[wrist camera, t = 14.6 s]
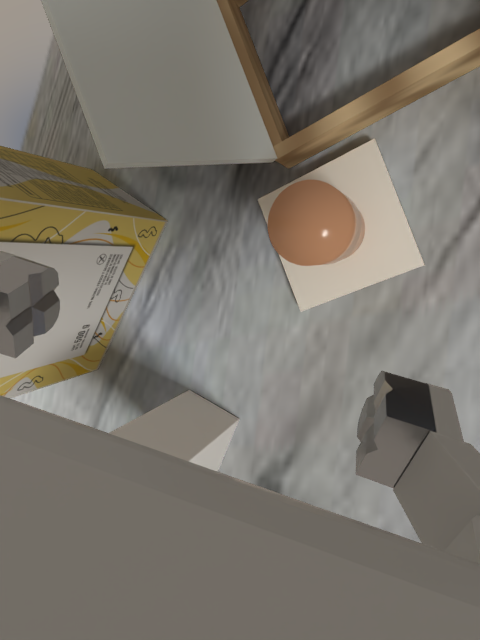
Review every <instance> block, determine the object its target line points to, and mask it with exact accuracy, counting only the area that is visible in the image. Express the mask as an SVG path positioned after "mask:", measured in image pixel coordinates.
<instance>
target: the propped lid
mask: <svg viewBox="0 0 480 640" xmlns="http://www.w3.org/2000/svg"><path fill="white" fill-rule="evenodd" d="M41 2H42V4H43V7H44V9H45V12H46V15H47V17H48V20H49V23H50V25H51V28H52V31H53V34H54V36H55V39H56V42H57V44H58V47H59V50H60V52H61V55H62V58H63V60H64V63H65V66H66V68H67V71H68V73H69V76H70V79H71V81H72V84H73V87H74V89H75V92H76V95H77V97H78V100H79V103H80V105H81V108H82V111H83V113H84V116H85V119H86V121H87V124H88V127H89V129H90V132H91V135H92V137H93V140H94V143H95V145H96V148H97V151H98V153H99V156H100V159H101V161H102V164H103V167H104V169H107V168H134V167H161V166H188V165H215V164H242V163H269V162H273V161H275V160H276V159H277V156H276V153H275V151H274V148H273V145H272V143H271V140H270V138H269V135H268V132H267V130H266V127H265V125H264V122H263V120H262V117H261V114H260V112H259V109H258V107H257V104H256V101H255V99H254V96H253V94H252V91H251V89H250V86H249V83H248V81H247V78H246V76H245V73H244V70H243V68H242V65H241V63H240V60H239V57H238V55H237V52H236V50H235V47H234V45H233V42H232V39H231V37H230V34H229V32H228V29H227V26H226V24H225V21H224V19H223V16H222V14H221V11H220V8H219V6H218V3H217V1H216V0H41Z"/></svg>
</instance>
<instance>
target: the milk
mask: <svg viewBox="0 0 480 640" xmlns="http://www.w3.org/2000/svg"><path fill="white" fill-rule="evenodd" d="M238 422H239V418H237V417H235V416H233V415H232V414H230V413H228V412H227V411H225V410H223V409H221V408H220V407H218V406H216V405H215V404H213V403H211V402H209V401H208V400H206V399H204V398H203V397H201V396H199V395H197V394H196V393H194V392H192V391H190V390H188V391H186V392H184V393H182V394H180V395H179V396H177V397H175V398H173V399H171V400H169V401H168V402H166V403H164V404H162V405H160V406H158V407H156V408H155V409H153V410H151V411H149V412H147V413H145V414H143V415H142V416H140V417H138V418H136V419H134V420H132V421H130V422H129V423H127V424H125V425H123V426H121V427H119V428H117V429H116V430H114V431H112V432H110V433H109V434H112V435H115V436H118V437H120V438H123V439H126V440H129V441H132V442H135V443H138V444H140V445H143V446H146V447H149V448H152V449H155V450H158V451H160V452H163V453H166V454H169V455H172V456H175V457H177V458H180V459H183V460H186V461H189V462H191V463H194V464H197V465H200V466H203V467H206V468H208V469H211V470H214V471H218V470H219V468H220V466H221V463H222V461H223V459H224V456H225V454H226V451H227V449H228V446H229V444H230V442H231V439H232V437H233V434H234V432H235V429H236V427H237V425H238Z"/></svg>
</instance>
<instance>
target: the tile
mask: <svg viewBox="0 0 480 640" xmlns="http://www.w3.org/2000/svg"><path fill="white" fill-rule="evenodd" d="M302 180H320V181H323V182H326V183H328V184H330V185H332V186H333V187H335V188H336V189H337V190H339V191H340V192H342V193H343V194H345V195H346V196H347V197H349V198H350V199H351V200H352V201H353V202H354V204H355V205H356V207H357V208H358V210H359V211H360V213H361V214H362V216H363V219H364V222H365V235H364V239H363V241H362V243H361V245H360V247H359V248H358V249H357V250H356V252H354V253H353V254H352V255H351V256H349V257H347V258H345V259H342V260H340V261H338V262H336V263H333V264H328V265H313V266H301V265H296V264H293V263H291V262H289V261H287V260H285V259H284V258H283V257H282V256H280V255H279V256H280V259H281V262H282V264H283V267H284V269H285V272H286V275H287V277H288V280H289V282H290V285H291V288H292V290H293V293H294V295H295V298H296V301H297V303H298V306H299V308H300V311H304V310H307V309H309V308H312V307H314V306H317V305H320V304H322V303H325V302H328V301H330V300H333V299H336V298H338V297H341V296H344V295H346V294H349V293H352V292H354V291H357V290H360V289H362V288H365V287H367V286H370V285H373V284H375V283H378V282H381V281H383V280H386V279H389V278H391V277H394V276H397V275H399V274H402V273H405V272H407V271H410V270H413V269H415V268H418V267H420V266H423V265H425V264H424V261H423V259H422V256H421V254H420V251H419V249H418V246H417V243H416V241H415V238H414V236H413V233H412V231H411V228H410V226H409V223H408V221H407V218H406V216H405V213H404V210H403V208H402V205H401V203H400V200H399V198H398V195H397V193H396V190H395V188H394V185H393V182H392V180H391V177H390V175H389V172H388V170H387V167H386V165H385V162H384V160H383V157H382V154H381V152H380V149H379V147H378V144H377V142H376V140H375V138H374V139H372V140H371V141H369V142H367V143H365V144H363V145H361V146H359V147H357V148H355V149H353V150H351V151H349V152H348V153H346V154H344V155H342V156H340V157H338V158H336V159H334V160H332V161H330V162H328V163H326V164H325V165H323V166H321V167H319V168H317V169H315V170H313V171H311V172H309V173H307V174H305V175H303V176H302V177H300V178H298V179H296V180H294V181H292V182H290V183H288V184H286V185H284V186H282V187H280V188H279V189H277V190H275V191H273V192H271V193H269V194H267V195H265V196H263V197H261V198H259V199H258V202H259V204H260V207H261V210H262V212H263V215H264V217H265V220H266V223H267V225H268V216H269V212H270V209H271V207H272V204H273V203H274V201H275V199H276V198H277V197H278V195H279V194H280V193H281V192H282V191H283V190H284V189H286V188H287V187H288V186H290V185H292V184H294V183H296V182H299V181H302Z"/></svg>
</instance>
